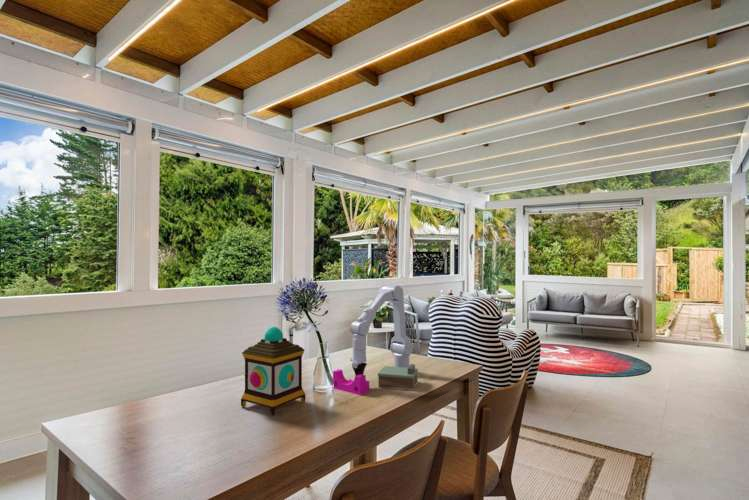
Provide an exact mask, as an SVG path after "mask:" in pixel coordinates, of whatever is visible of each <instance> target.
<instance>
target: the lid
mask: <svg viewBox="0 0 749 500" xmlns="http://www.w3.org/2000/svg"><path fill="white" fill-rule="evenodd" d="M418 372H419V368H418V367H417V368H416V365H415V363H410V366H409V367H408V368H404V367H394V366H390V365H389V366H388V365H387V366H386V365H385V366H383V367H382V368H381V369H380V370H379V372H377V376H378V377H379V376H386V377H400V378H413V379H414V377H415V375H416V373H417V374H418Z"/></svg>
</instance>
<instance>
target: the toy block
mask: <svg viewBox="0 0 749 500" xmlns="http://www.w3.org/2000/svg"><path fill="white" fill-rule="evenodd" d="M366 377H367V376H366V374H363V375H362V374H360V375H357V376H355V375H354V380H353V379H351V378H350V379H346V377H345V375H344V373H343V369H336V370H333V371H332V385H333V384H334V388H333V389H334V390H338V391H341V392H346V393H350V394H354V395H358V396H362V395H363V394H366V393H369V392H370V381H369V380H367V379H366Z"/></svg>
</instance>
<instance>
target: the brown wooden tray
mask: <svg viewBox="0 0 749 500" xmlns="http://www.w3.org/2000/svg"><path fill="white" fill-rule="evenodd" d="M416 383H418V372H417V373H416V375H415V377H414V379H413V378H400V377H386V376H378V388H380V389H381V388H383V389H391V390H392V389H395V390H404V389H408V391H413V390H414V389H415V388H416V386H415V385H417V384H416Z"/></svg>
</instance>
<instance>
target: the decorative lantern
mask: <svg viewBox="0 0 749 500" xmlns="http://www.w3.org/2000/svg"><path fill="white" fill-rule="evenodd" d="M304 352H305V348H303V347H302V346H300V345H299V344H294V343H293V342H291V341H290V340H287V338H285V337H284V333H283V331H282V330H281V329H280V328H279V327H278V326H271V327H269V328H268V329H267V330H266V332H265V333H264V338H262V339H260V341H258V342H257V343H256V344H254V345H252V346H249V347H248V348H246V349H244V350H243V352H241V354H242V357H243V359H244V392H243V394H242V396H241V399H240V406H241V407H242V408H246V406H247V403H250V404H254V405H257V406H260V407H263V408H264V407H265V408H268V409H269V411H270V416H272V417H274V416H275V414H276V409H277V408H279V407H281V406H283V405H286V404H288V403H290V402H293V401H296V400H299V399H300V403H301V404H305V402H306V393H305V391H304V388H303V383H302V380H303V376H302V375H303V372H302V371H303V365H302V364H303V361H302V360H303V355H304Z"/></svg>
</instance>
